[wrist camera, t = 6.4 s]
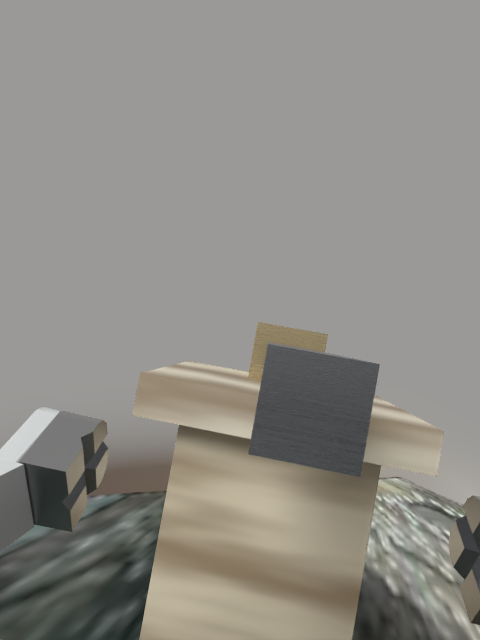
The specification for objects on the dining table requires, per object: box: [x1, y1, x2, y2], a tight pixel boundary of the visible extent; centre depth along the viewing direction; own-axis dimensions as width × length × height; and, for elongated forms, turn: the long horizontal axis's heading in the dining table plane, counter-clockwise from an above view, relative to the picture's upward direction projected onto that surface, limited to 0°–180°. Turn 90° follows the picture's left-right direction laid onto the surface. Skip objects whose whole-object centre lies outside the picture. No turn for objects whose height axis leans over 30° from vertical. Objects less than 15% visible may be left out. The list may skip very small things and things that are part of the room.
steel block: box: [248, 322, 379, 477], centre depth 20 cm, size 22×4×4 cm, turn 176°
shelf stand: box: [132, 361, 444, 640], centre depth 25 cm, size 12×14×26 cm
